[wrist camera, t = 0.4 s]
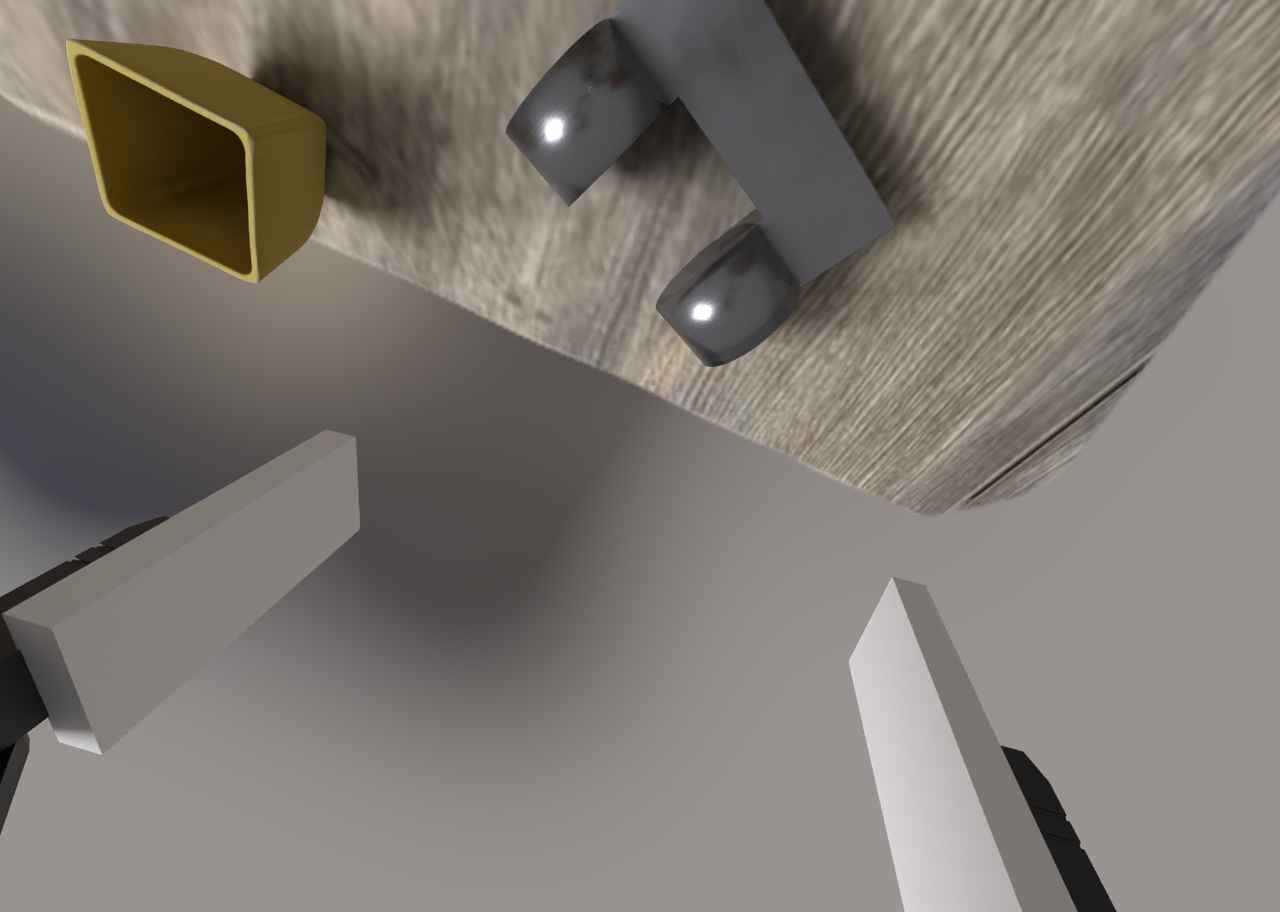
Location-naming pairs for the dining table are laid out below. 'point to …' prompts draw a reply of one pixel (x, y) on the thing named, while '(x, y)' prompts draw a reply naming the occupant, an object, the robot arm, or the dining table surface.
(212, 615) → the robot arm
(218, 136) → the flower pot
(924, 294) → the dining table surface
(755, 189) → the hinge base leaf
